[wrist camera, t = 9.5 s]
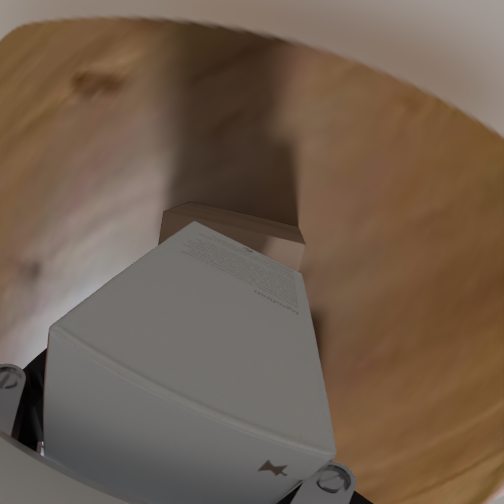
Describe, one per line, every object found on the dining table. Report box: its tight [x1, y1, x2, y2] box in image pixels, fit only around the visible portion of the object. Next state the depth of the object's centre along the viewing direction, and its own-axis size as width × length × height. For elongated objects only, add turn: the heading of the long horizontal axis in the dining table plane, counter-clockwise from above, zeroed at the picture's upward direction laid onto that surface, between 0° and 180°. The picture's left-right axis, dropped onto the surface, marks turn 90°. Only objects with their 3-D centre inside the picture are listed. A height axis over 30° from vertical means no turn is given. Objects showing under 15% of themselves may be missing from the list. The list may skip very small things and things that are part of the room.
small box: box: [43, 221, 336, 504], centre depth 11 cm, size 8×6×10 cm
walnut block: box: [158, 202, 306, 272], centre depth 21 cm, size 8×8×6 cm
